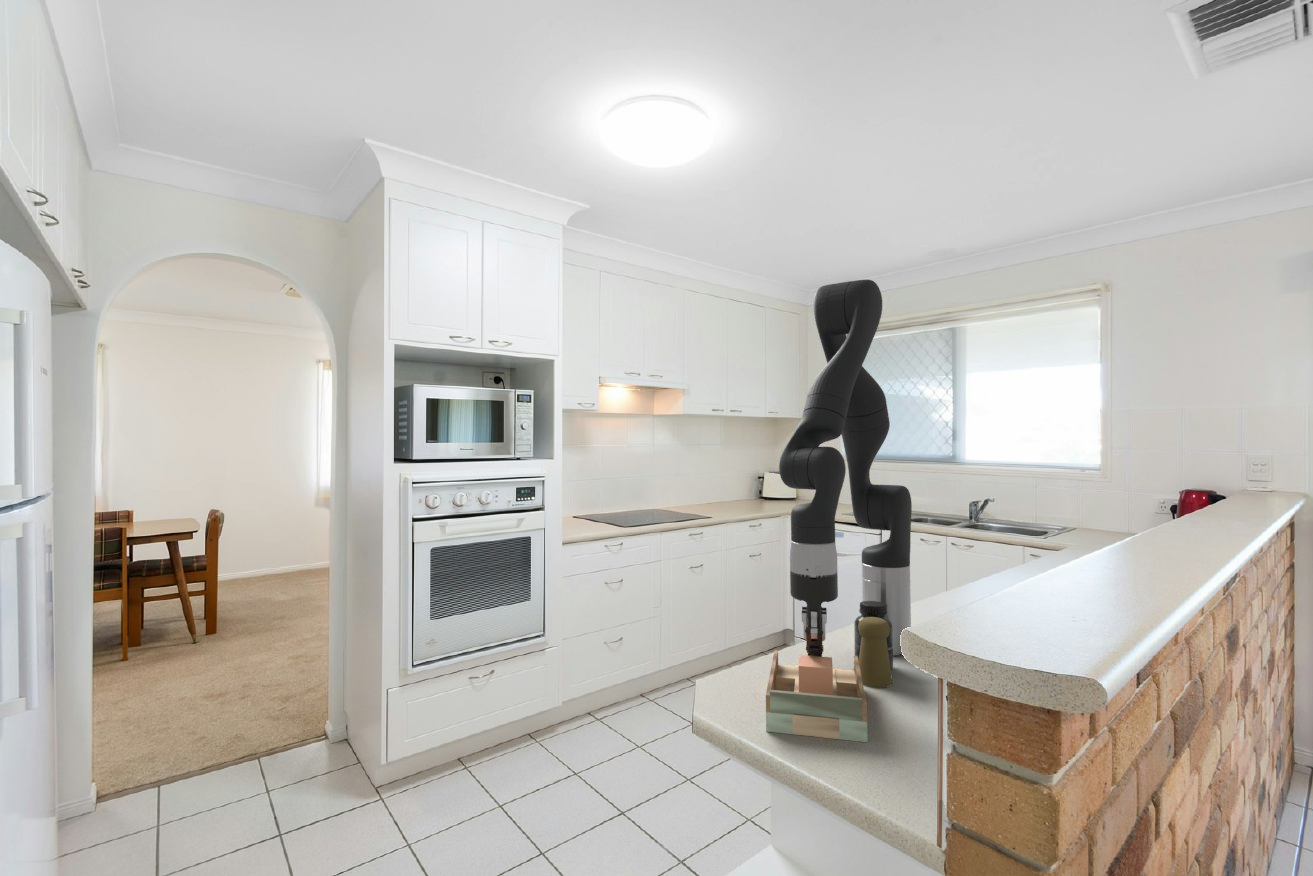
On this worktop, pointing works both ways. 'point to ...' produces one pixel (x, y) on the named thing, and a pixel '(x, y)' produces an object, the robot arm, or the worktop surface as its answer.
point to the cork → (874, 653)
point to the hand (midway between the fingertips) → (815, 674)
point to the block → (815, 675)
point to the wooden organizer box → (816, 705)
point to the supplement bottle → (880, 612)
